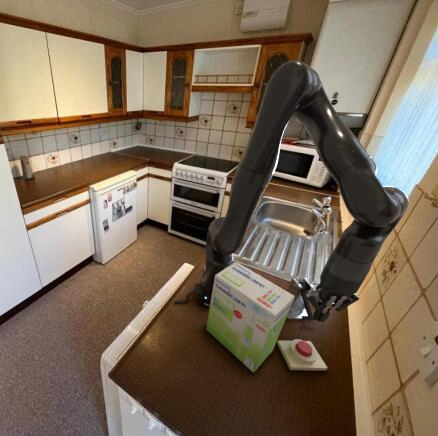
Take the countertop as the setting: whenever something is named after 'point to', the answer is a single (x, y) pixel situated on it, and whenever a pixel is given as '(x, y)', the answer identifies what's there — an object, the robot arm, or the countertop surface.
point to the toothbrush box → (247, 313)
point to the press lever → (306, 302)
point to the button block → (299, 361)
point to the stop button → (304, 348)
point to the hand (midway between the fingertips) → (318, 319)
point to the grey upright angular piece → (297, 299)
